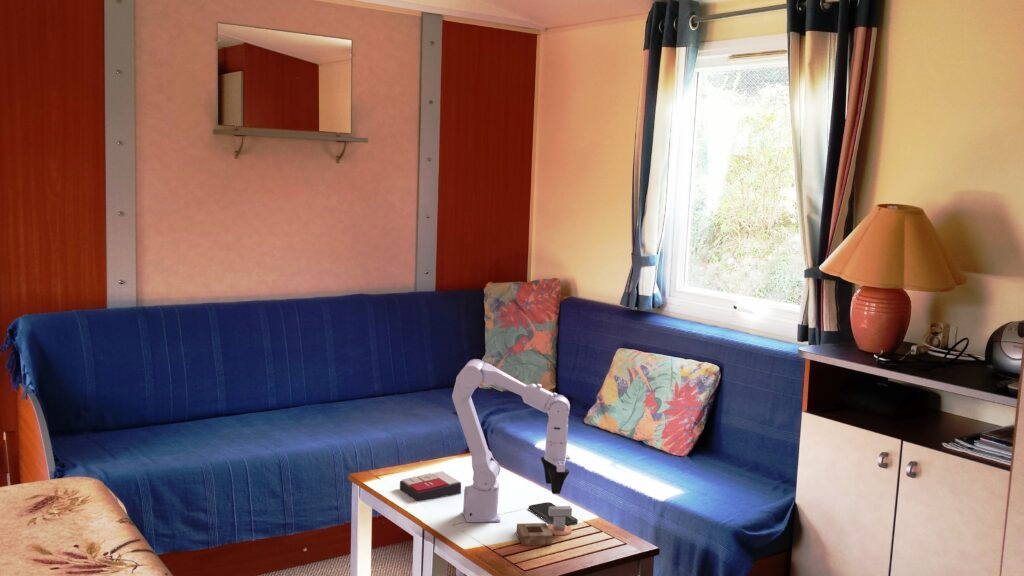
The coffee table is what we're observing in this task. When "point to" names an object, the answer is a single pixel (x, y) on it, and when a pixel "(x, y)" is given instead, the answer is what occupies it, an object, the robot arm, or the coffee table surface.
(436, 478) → the black red flat box
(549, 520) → the phone
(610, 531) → the coffee table surface
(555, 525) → the t key
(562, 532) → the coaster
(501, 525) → the coffee table surface
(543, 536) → the socket block
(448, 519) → the coffee table surface
